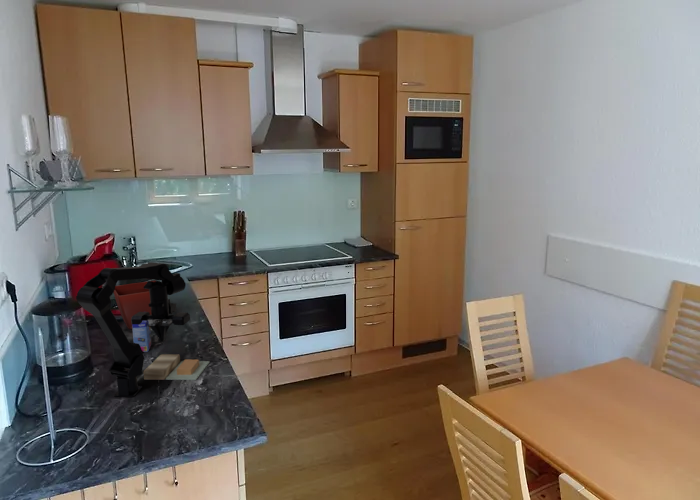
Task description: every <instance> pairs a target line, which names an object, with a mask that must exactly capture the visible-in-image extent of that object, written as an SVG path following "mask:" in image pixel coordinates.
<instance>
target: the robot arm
mask: <svg viewBox="0 0 700 500" xmlns="http://www.w3.org/2000/svg"><path fill="white" fill-rule="evenodd" d="M141 279H146V280H148V282H147V281H146V282H147V284H146V285H145V286H144V289H149V294H150V303H149V307H151V315H150V313H149V312H138V313H137V314H135V315H133V316H132V318H131V324H141V323H142V321H148V322H149V325H148V327H150V330H152V331H153V333H155V335H156V337H157V338H158V339H159V341H160V342H161V343H164V342H166V337H167V333H168V330H169V328H170V326H172V324H173V325H174V326H183V325H186V324H187V323H188V322H190V320H191V315H190V313H188V311H187V312H186V311H185V312H184V311H183V312H182V311H181V312H179V311H178V312H177V303H173V302H171V300H170V299H171V298H169V296H172V295H175V294H177V293H181V292H183V291H185V289H186V282H185V279H184V277H183V276H181V272H180V273H178V272H175V273H172V272H171V270H170V269H169V267H168V265H167V263H160V262H152V261H151V262H146V263H143V264H141V265H139V266H129V267H128V266H127V267H112V268H111V267H105V268H103V269H101V270H100V271H99V272H98V274H96V275H95V276H94V277H92V278H90V279H88V281H86V282H85V284H84V285H83V286H82V287H80V288H79V290H78V291H77V293H76V295H75V299H76V302H77V303H78V304H79V305H80V306H81V307H82V309H84V310H85V311H86V312H88V313H89V314H91V315H92V316H93V317H94V319H95V320H96V322H97V324H98V326H100V329H101V330H102V332H103V333H104V335H105V336H106V339H107V340H108V342H109V344H110V345H111V347H112V348H113V355H112V358H113V359H114V360H113V361H112V364H111V365H110V367H109V369H108V372H109V374H110V375H111V376H115V377H116V385H117V391H116V392H115V393H114V395H113V397H114V398H124V397H125V398H127V397H128V398H132V397H135V396H136V395H137V394H138V393H139V391H141V390H142V389H143V386H142V385H138V376H141V374H143V367H144V363H145V362H144V361H145V355H144V353H145V352H143V351H142V350H141V347H140V345H139V344H137V343H134V342H131V341H130V340H129V339H128V337H127V335H126V333H125V332H124V330H123V328H122V327H121V325H120V323H119V322H118V320H117V318H116V316H115V314H114V313H113V312H112V310H111V306H112V305H111V304H112V299H111V297H112V295H114V290H115V286H117V285H116V284H118V282H120V281H129V280H132V281H133V280H141ZM152 281H155V282H152ZM103 285H104V286H103ZM101 286H102V287H101ZM176 312H177V313H176ZM173 313H176V314H174V315H172V314H173Z"/></svg>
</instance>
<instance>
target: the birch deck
mask: <svg viewBox="0 0 700 500" xmlns="http://www.w3.org/2000/svg"><path fill="white" fill-rule="evenodd" d="M180 362H181V355H180V354H178V353H177V354H171V353H170V354H166V353H164V354H163V353H161V354H160V355H159V356H157V358H155V360H153V362H152V363H150V364H149V365H148V366H147V367H146V368H145V369H144V370H142V373H143V379H144V380H155V381H156V380H160V381H161V380H166V378H167V377H168V376H169V374H170V373H171V372H172V371H173V370H174V369H175V368H176V367H177V366H178V364H179V363H180Z"/></svg>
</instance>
